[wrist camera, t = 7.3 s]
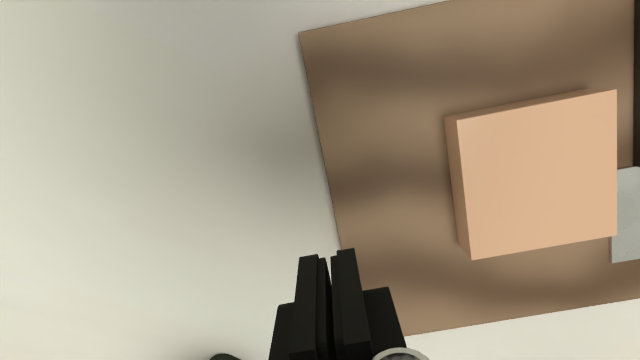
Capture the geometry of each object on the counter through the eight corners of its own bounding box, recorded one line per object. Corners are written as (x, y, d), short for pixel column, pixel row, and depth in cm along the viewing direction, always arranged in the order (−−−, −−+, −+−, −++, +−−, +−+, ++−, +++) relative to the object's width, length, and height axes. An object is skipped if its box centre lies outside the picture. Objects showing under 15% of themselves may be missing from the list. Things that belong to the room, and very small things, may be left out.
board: (299, 35, 22) (298, 32, 21) (679, -47, 20) (701, -54, 19) (359, 332, 27) (360, 343, 26) (668, 281, 25) (684, 290, 24)
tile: (456, 120, 19) (616, 89, 19) (443, 116, 22) (586, 88, 21) (471, 260, 21) (617, 235, 21) (458, 243, 24) (589, 220, 23)
